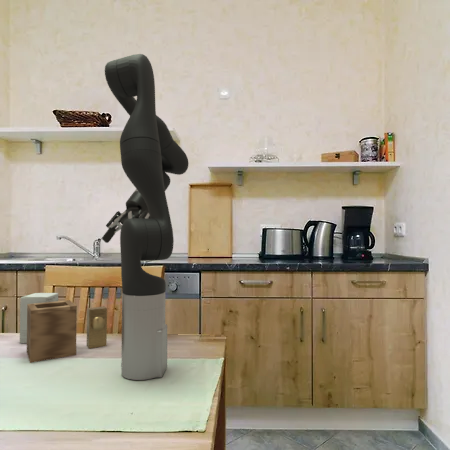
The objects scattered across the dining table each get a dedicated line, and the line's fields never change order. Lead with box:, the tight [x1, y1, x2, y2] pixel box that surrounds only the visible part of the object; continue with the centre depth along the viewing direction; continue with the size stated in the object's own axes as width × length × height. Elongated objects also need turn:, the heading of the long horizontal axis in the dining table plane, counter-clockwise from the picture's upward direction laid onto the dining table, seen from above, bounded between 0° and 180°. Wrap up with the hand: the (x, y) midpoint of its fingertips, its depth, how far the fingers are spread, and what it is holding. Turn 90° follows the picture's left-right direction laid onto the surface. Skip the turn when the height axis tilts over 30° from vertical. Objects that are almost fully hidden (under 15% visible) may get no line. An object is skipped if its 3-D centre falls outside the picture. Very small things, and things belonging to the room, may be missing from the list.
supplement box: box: [19, 292, 59, 344], centre depth 102 cm, size 7×7×13 cm
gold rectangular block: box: [86, 305, 108, 350], centre depth 97 cm, size 4×3×10 cm, turn 123°
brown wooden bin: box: [26, 299, 78, 364], centre depth 91 cm, size 10×9×12 cm
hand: (113, 241), depth 100 cm, fingers open, 8 cm apart
